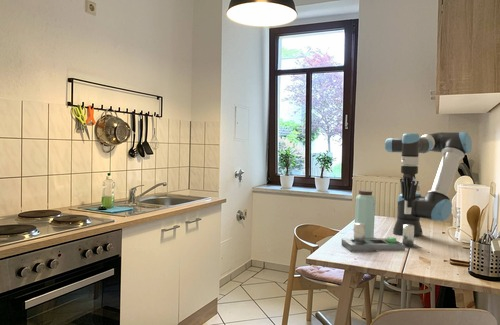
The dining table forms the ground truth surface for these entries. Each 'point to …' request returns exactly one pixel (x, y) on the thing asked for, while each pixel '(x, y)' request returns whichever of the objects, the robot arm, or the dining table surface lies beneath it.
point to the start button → (391, 240)
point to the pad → (414, 246)
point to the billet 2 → (408, 235)
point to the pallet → (371, 245)
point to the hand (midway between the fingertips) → (407, 213)
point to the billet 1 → (359, 233)
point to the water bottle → (365, 211)
